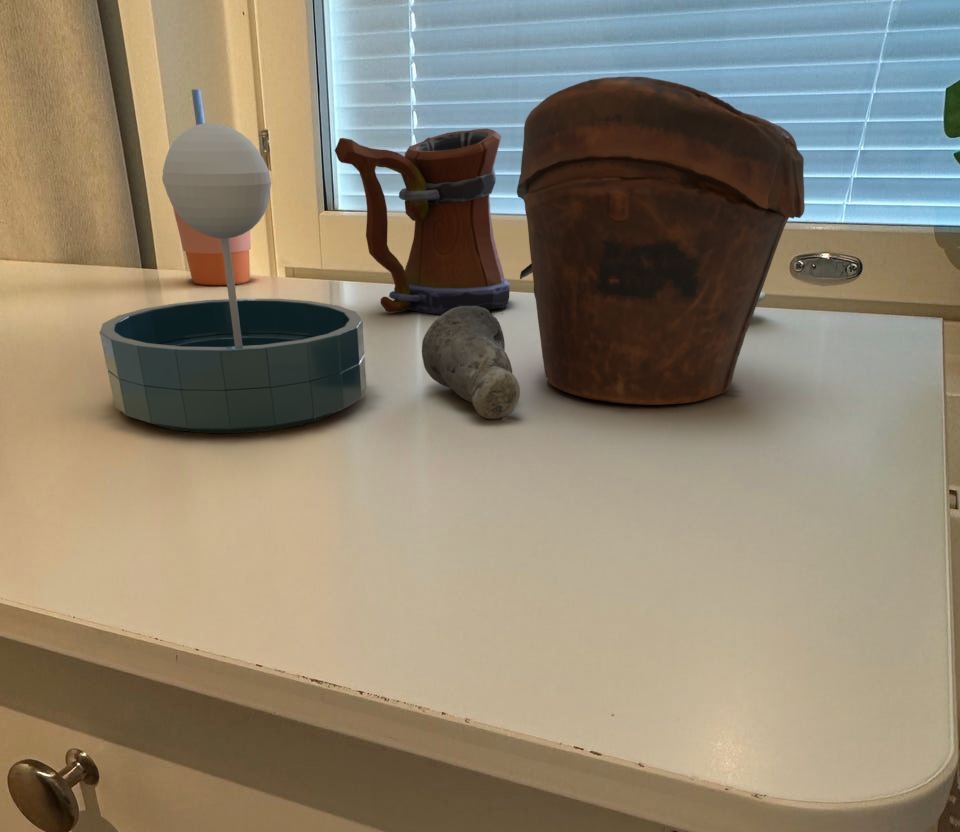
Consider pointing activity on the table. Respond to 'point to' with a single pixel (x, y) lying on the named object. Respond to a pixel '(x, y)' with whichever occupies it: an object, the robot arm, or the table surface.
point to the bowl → (235, 364)
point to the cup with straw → (212, 241)
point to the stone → (472, 360)
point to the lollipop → (218, 189)
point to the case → (650, 235)
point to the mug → (437, 221)
